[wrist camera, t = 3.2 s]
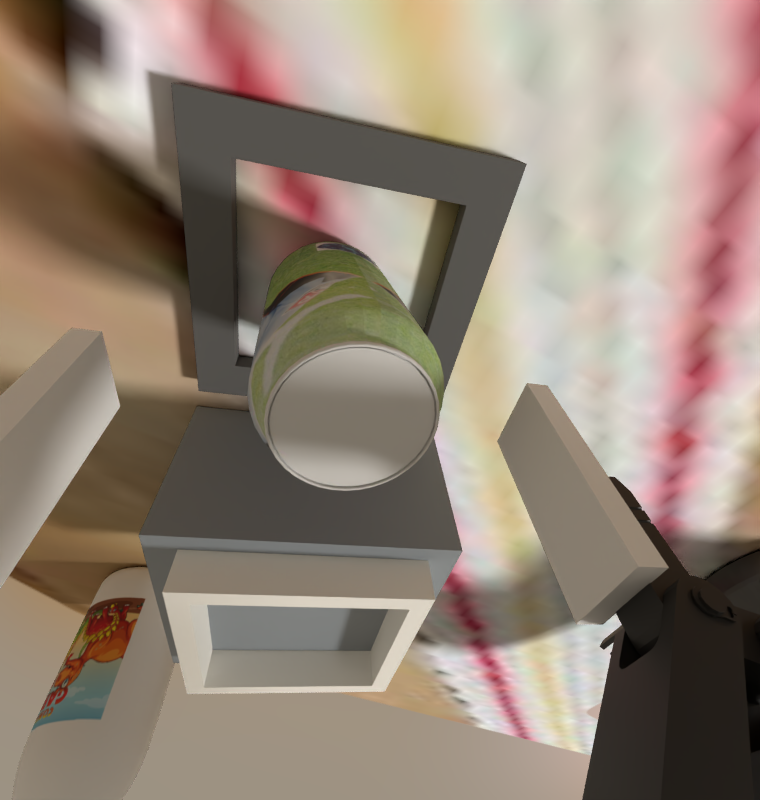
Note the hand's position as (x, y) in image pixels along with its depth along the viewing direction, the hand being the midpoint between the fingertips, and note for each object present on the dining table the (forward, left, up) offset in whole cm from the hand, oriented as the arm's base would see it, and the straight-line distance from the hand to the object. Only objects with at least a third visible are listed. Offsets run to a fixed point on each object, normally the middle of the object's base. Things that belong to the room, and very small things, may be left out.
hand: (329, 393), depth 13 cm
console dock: (0, +16, -10) cm, 19 cm away
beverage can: (0, 0, -10) cm, 10 cm away
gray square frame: (0, 0, -10) cm, 10 cm away
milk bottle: (+13, +31, -10) cm, 35 cm away
